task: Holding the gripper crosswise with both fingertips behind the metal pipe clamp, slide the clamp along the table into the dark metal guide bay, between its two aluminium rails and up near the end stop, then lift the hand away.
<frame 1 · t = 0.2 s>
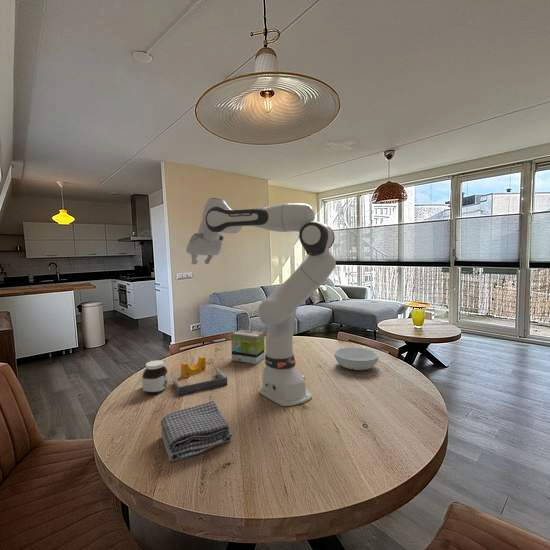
hand: (200, 263, 134), 52 cm above the table, tool tilted 20°, fingers open, 8 cm apart
towel: (196, 441, 89), on the table
serving bowl: (355, 367, 146), on the table
tea box: (248, 360, 158), on the table
spread jar: (153, 389, 124), on the table
pipe clamp: (192, 373, 141), on the table
guide bay: (199, 383, 129), on the table
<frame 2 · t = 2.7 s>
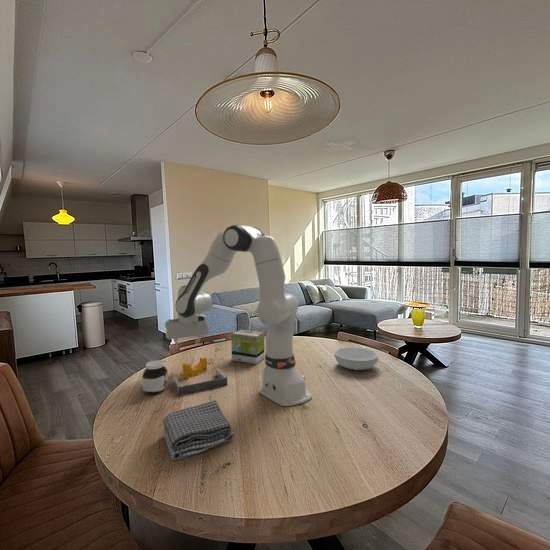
hand: (187, 345, 147), 11 cm above the table, tool pointing down, fingers open, 8 cm apart
pipe clamp: (194, 374, 140), on the table
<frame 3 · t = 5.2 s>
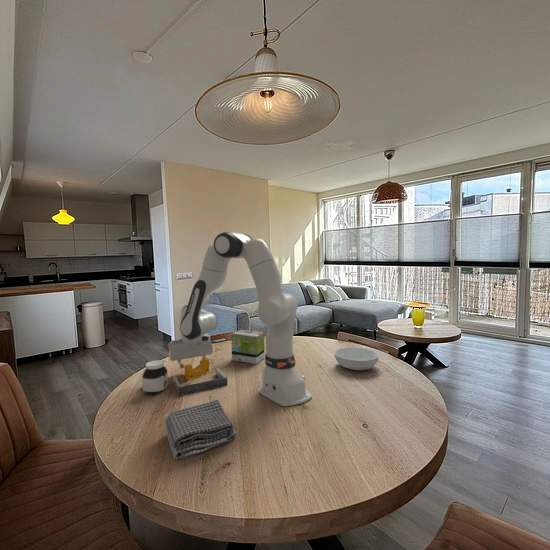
hand: (191, 366, 142), 3 cm above the table, tool pointing down, fingers open, 8 cm apart
pipe clamp: (196, 375, 138), on the table, touching gripper
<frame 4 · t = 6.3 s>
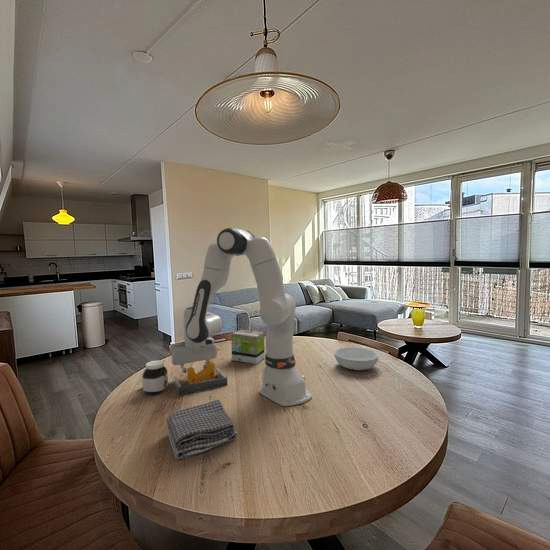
hand: (195, 370, 137), 3 cm above the table, tool pointing down, fingers open, 8 cm apart
pipe clamp: (200, 379, 134), on the table, touching gripper
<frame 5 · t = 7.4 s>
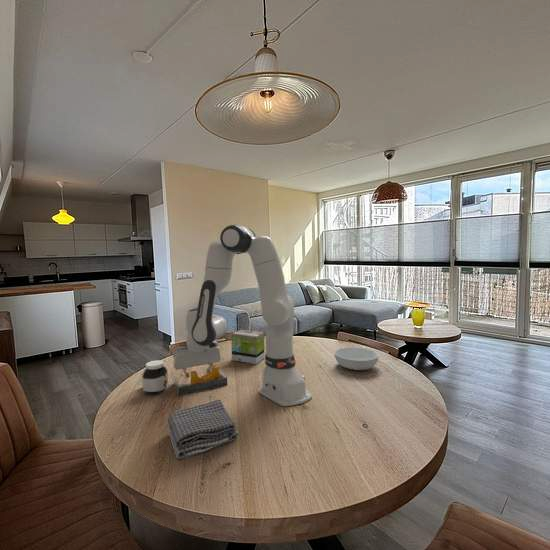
hand: (198, 374, 132), 3 cm above the table, tool pointing down, fingers open, 8 cm apart
pipe clamp: (204, 383, 130), on the table
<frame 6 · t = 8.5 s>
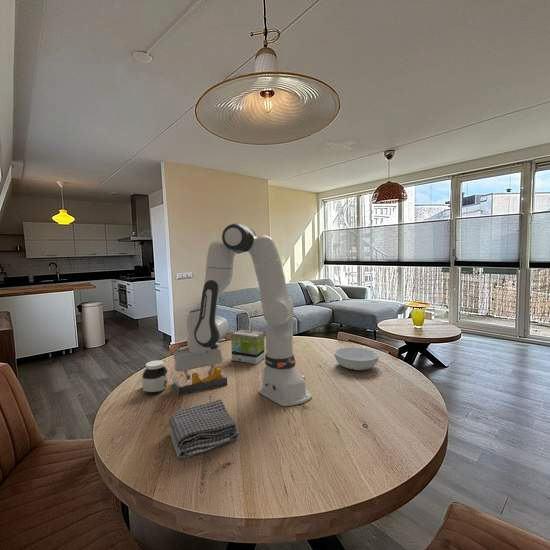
hand: (199, 377, 129), 3 cm above the table, tool pointing down, fingers open, 8 cm apart
pipe clamp: (206, 385, 127), on the table
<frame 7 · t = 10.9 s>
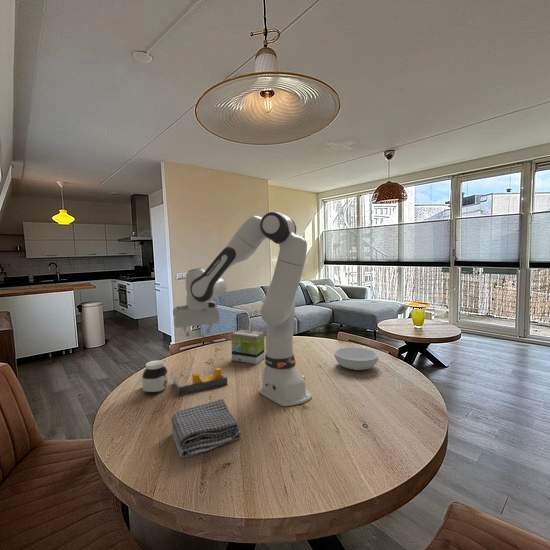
hand: (197, 334, 135), 20 cm above the table, tool pointing down, fingers open, 8 cm apart
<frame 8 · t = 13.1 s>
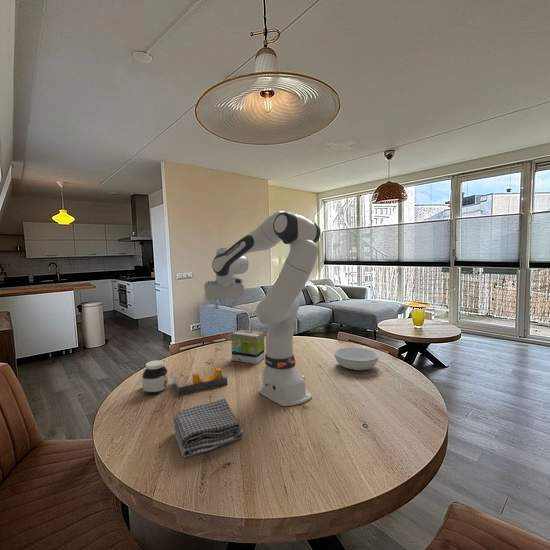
hand: (225, 307, 150), 29 cm above the table, tool pointing down, fingers open, 8 cm apart
at the end: pipe clamp inside the target area on the guide bay (2.9 cm from its centre), point 0.0 cm above the guide bay's base; pipe clamp tilted 0°; pipe clamp moved 17.4 cm from its start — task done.
